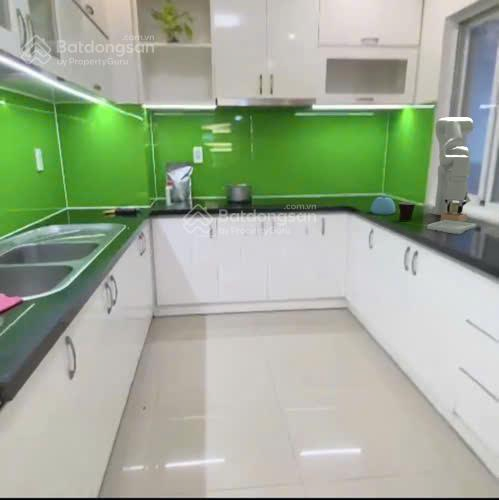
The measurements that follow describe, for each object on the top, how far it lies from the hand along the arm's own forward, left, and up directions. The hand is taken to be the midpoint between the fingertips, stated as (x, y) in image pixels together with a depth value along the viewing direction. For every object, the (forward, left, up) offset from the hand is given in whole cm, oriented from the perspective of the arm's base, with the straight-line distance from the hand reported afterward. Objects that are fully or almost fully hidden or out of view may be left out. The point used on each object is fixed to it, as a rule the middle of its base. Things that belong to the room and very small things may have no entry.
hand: (454, 212), depth 214 cm
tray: (+7, -17, -6) cm, 19 cm away
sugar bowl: (-43, -2, -6) cm, 43 cm away
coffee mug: (-20, -16, -6) cm, 26 cm away
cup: (0, 0, -6) cm, 6 cm away
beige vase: (0, 0, -5) cm, 5 cm away
